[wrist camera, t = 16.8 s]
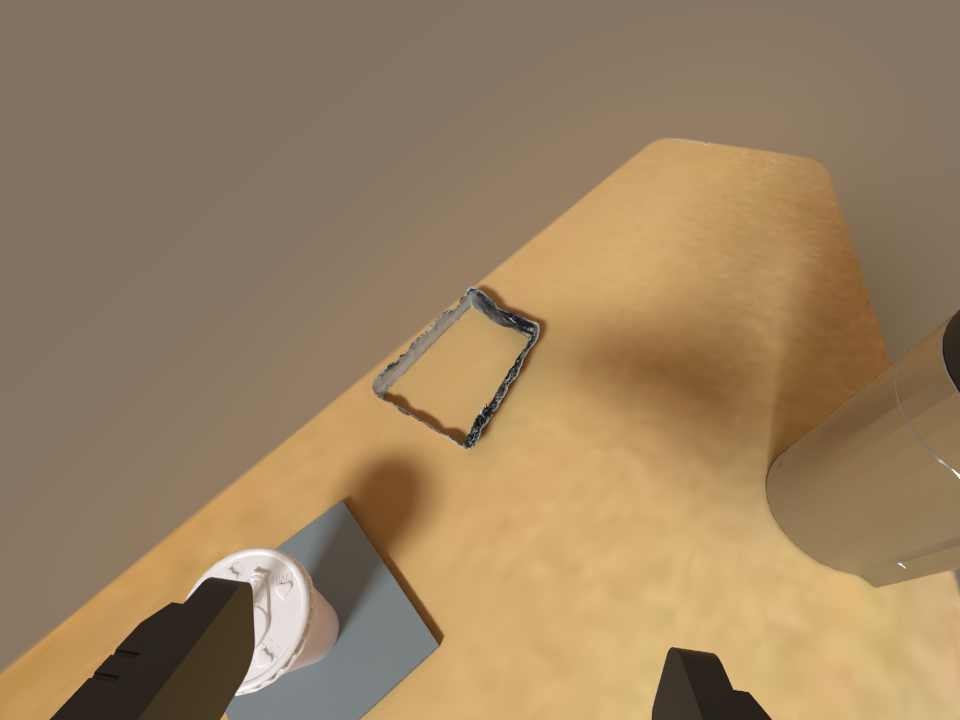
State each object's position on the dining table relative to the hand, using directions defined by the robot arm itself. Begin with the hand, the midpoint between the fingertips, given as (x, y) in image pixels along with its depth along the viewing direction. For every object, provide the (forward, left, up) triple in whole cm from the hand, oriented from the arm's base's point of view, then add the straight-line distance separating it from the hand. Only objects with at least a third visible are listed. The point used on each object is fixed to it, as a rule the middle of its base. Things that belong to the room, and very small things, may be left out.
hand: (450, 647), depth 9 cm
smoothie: (+9, +8, -25) cm, 27 cm away
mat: (+9, +8, -25) cm, 28 cm away
